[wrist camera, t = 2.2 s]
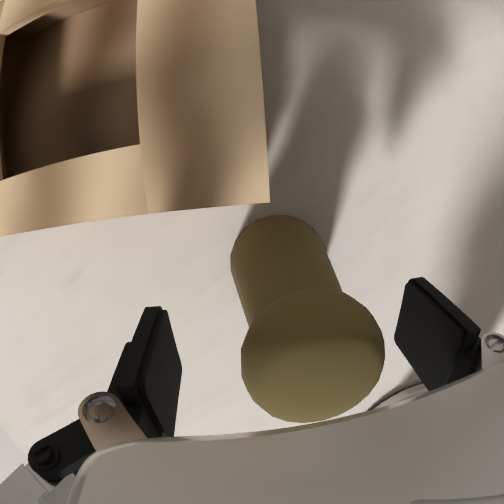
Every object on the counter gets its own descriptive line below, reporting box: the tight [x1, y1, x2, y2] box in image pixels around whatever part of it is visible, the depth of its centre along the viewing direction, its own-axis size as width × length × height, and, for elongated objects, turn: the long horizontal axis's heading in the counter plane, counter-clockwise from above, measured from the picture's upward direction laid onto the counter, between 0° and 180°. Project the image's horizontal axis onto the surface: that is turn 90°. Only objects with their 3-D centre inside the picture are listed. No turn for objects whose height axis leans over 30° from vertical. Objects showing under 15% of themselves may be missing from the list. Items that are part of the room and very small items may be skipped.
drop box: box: [0, 0, 270, 237], centre depth 11 cm, size 18×14×6 cm
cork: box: [230, 216, 385, 423], centre depth 13 cm, size 6×6×11 cm
